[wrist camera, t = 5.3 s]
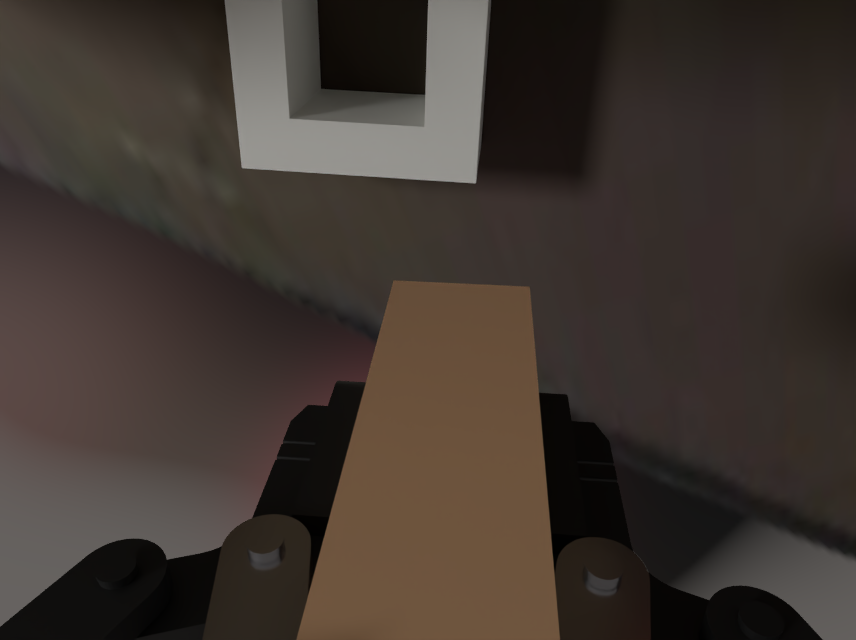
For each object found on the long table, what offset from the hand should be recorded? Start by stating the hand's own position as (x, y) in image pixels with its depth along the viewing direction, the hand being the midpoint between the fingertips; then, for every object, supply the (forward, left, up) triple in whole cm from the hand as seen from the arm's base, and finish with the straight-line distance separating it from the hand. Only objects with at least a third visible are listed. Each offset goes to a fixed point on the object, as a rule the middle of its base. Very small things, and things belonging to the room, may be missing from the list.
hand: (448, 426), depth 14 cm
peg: (0, 0, -3) cm, 3 cm away
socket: (+5, -4, -20) cm, 21 cm away
